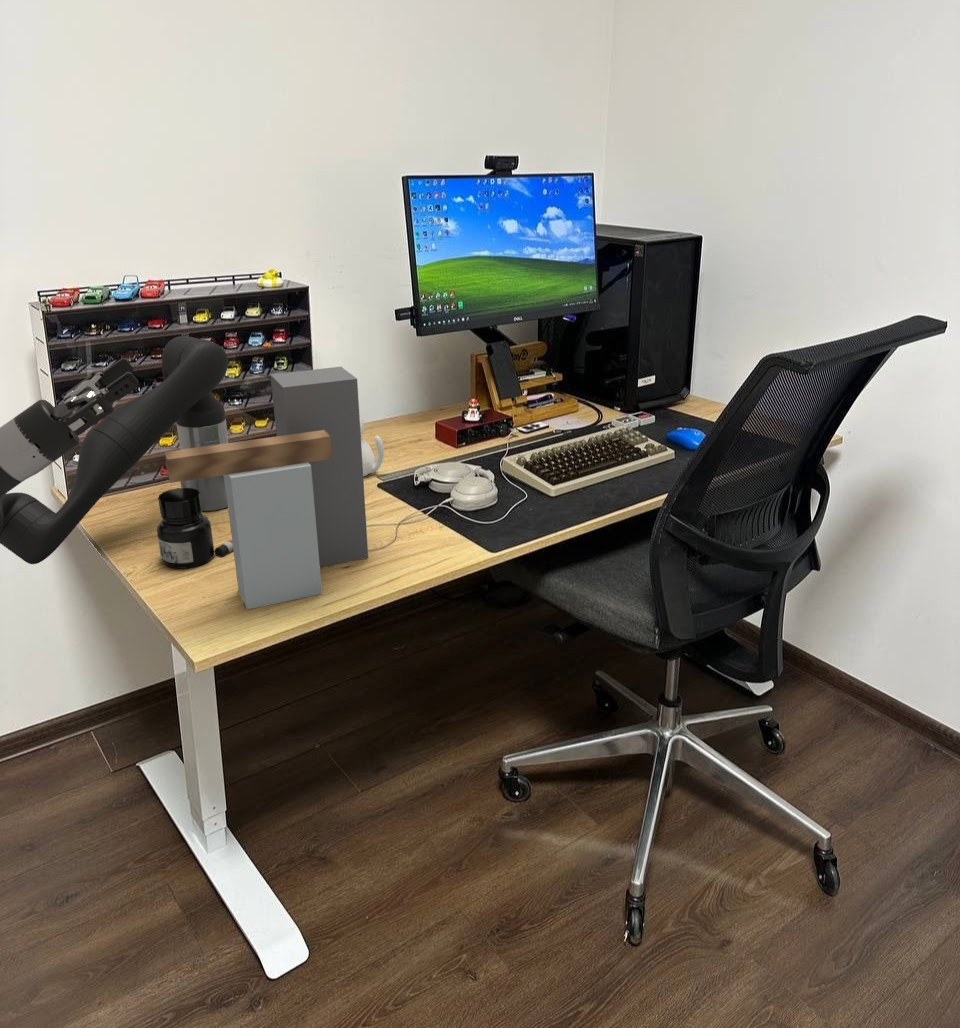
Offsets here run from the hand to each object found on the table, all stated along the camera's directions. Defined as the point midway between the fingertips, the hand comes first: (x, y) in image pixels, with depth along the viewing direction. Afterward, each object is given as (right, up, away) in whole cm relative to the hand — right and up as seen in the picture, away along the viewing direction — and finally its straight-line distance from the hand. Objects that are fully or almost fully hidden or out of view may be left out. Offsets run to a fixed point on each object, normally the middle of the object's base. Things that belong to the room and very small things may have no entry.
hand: (132, 370), depth 122 cm
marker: (+5, -25, +41) cm, 48 cm away
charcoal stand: (+21, -27, +35) cm, 49 cm away
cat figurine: (+21, -11, +72) cm, 76 cm away
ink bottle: (-3, -28, +34) cm, 44 cm away
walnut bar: (+13, -13, +13) cm, 22 cm away
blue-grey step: (+15, -32, +22) cm, 42 cm away
